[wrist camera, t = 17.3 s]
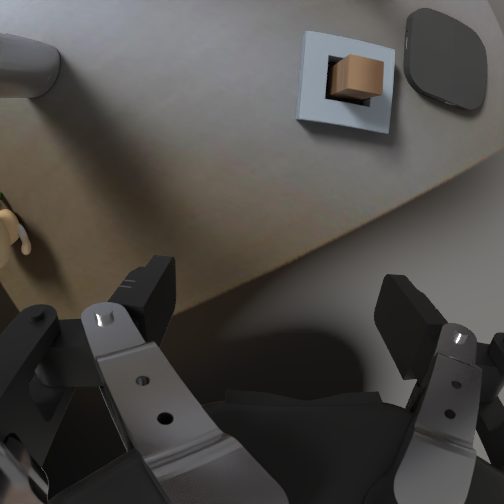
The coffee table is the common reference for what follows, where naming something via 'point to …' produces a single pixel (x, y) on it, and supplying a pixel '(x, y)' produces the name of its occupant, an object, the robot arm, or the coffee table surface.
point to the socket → (315, 76)
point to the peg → (356, 78)
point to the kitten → (11, 235)
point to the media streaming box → (445, 59)
